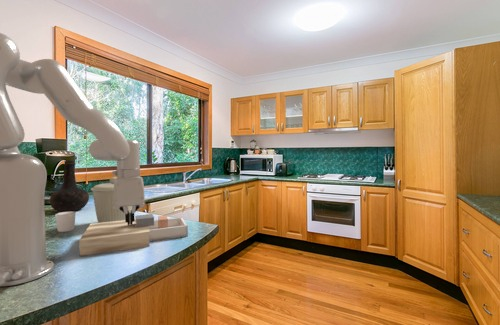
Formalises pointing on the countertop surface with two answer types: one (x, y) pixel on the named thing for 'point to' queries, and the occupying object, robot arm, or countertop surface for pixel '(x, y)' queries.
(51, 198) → the dark brown vase
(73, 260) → the countertop surface
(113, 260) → the countertop surface
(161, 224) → the terracotta tile
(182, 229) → the bin
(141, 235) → the board
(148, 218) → the slate tile
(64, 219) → the shot glass
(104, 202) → the canister
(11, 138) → the robot arm
